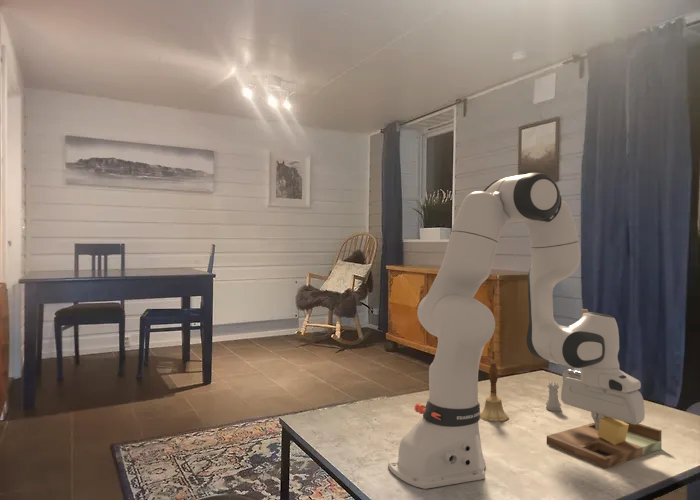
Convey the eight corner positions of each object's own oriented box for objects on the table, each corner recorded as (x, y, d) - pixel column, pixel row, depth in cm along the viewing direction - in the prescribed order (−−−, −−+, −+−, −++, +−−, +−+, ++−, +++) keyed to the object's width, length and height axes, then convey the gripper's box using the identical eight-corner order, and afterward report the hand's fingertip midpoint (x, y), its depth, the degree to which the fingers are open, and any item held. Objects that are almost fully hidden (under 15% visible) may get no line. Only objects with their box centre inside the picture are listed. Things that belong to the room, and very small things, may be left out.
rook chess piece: (562, 412, 147) (562, 385, 147) (547, 411, 148) (547, 384, 148) (559, 407, 151) (559, 381, 151) (544, 406, 152) (544, 381, 152)
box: (606, 468, 109) (606, 448, 109) (546, 443, 123) (546, 426, 123) (661, 448, 120) (661, 430, 120) (600, 428, 134) (600, 411, 134)
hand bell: (473, 415, 145) (473, 361, 145) (493, 410, 149) (493, 358, 149) (494, 424, 137) (494, 367, 137) (514, 418, 141) (514, 364, 141)
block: (614, 444, 117) (618, 427, 116) (597, 435, 121) (600, 418, 120) (625, 441, 120) (628, 424, 119) (607, 431, 123) (611, 415, 123)
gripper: (555, 369, 130) (556, 421, 130) (633, 387, 113) (634, 447, 113) (570, 366, 133) (570, 416, 133) (647, 383, 116) (648, 441, 116)
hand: (600, 430), depth 123 cm, fingers closed, pressing on block
